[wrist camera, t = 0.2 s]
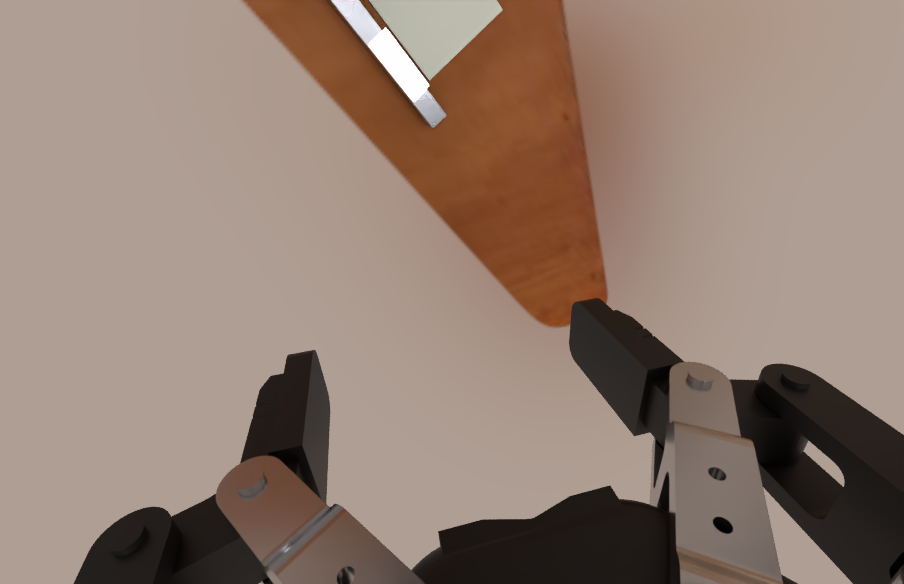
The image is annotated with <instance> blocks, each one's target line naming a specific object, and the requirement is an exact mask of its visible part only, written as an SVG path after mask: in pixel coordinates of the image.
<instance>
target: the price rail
mask: <svg viewBox="0 0 904 584" xmlns="http://www.w3.org/2000/svg"><path fill="white" fill-rule="evenodd" d="M327 1H328V2H329V3H330V4H331V6H332V7H333V8H334V9H335V11H336V12H337V13H338V14H339V16H340V17H341V18H342V19H343V21H344V22H345V23H346V24H347V26H348V27H349V28H350V29H351V31H352V32H353V33H354V34H355V35H356V37H357V38H358V39H359V40H360V42H361V43H362V44H363V45H364V47H365V48H366V49H367V50H368V52H369V53H370V54H371V55H372V57H373V58H374V59H375V60H376V62H377V63H378V64H379V65H380V67H381V68H382V69H383V70H384V72H385V73H386V74H387V75H388V77H389V78H390V79H391V80H392V82H393V83H394V84H395V85H396V87H397V88H398V89H399V90H400V92H401V93H402V94H403V95H404V97H405V98H406V99H407V100H408V102H409V103H410V104H411V105H412V107H413V108H414V109H415V110H416V112H417V113H418V114H419V115H420V117H421V118H422V119H423V120H424V122H425V123H426V124H427V125H429V126H430V127H432V128H434V127H435V126H436V125H437V124H438V123H439V122H440V121H441V120H442V119H443V118H444V117H446V116H447V115H446V114H445V112H444V111H443V110H442V108H441V107H440V106H439V105H438V103H437V102H436V101H435V99H434V98H433V97H432V95H431V94H430V93H429V91H428V90H427V88H428V87H429V86H430V85H429V84H428V83H427V81H426V80H425V79H424V77H423V76H422V75H421V73H420V72H419V71H418V69H417V68H416V67H415V65H414V64H413V63H412V61H411V60H410V59H409V57H408V56H407V55H406V53H405V52H404V51H403V50H402V48H401V47H400V46H399V44H398V43H397V42H396V40H395V39H394V38H393V36H392V35H391V34H390V32H389V31H388V30H387V28H385V29H384V30H383V31H382V30H381V29H380V27H379V26H378V25H377V23H376V22H375V21H374V19H373V18H372V17H371V16H370V14H369V13H368V12H367V10H366V9H365V8H364V6H363V5H362V4H361V2H360V1H359V0H327Z"/></svg>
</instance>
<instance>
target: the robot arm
mask: <svg viewBox="0 0 904 584" xmlns="http://www.w3.org/2000/svg"><path fill="white" fill-rule="evenodd" d="M569 345H570V351H571V355H572V357H573V359H574V361H575V362H576V363H577V365H578V366H579V367H580V368H581V370H582V371H583V372H584V373H585V375H586V376H587V377H588V378H589V380H590V381H591V382H592V383H593V385H594V386H595V387H596V388H597V390H598V391H599V392H600V393H601V395H602V396H603V397H604V399H605V400H606V401H607V402H608V404H609V405H610V406H611V407H612V409H613V410H614V411H615V412H616V414H617V415H618V416H619V417H620V419H621V420H622V421H623V423H624V424H625V425H626V426H627V427H628V429H629V430H630V431H631V432H632V434H633V435H634V436H637V435H641V434H645V433H649V432H650V433H651V434H652V435H653V436H654V441H653V446H652V467H651V490H650V504H646V503H642V502H638V501H632V500H624V499H618V497H617V496H616V494H615V492H614V491H613V489H612V488H611V486H607V487H603V488H599V489H596V490H592V491H588V492H584V493H581V494H577V495H573V496H570V497H568V498H567V499H565V500H563V501H561V502H560V503H558V504H556V505H555V506H553V507H551V508H550V509H548V510H547V511H545V512H543V513H542V514H540V515H538V516H537V517H535V518H532V519H499V520H498V519H497V520H480V521H476V522H472V523H468V524H465V525H461V526H457V527H453V528H450V529H446V530H442V531H439V532H438V533H439V540H440V547H439V548H437V549H436V550H434V551H432V552H431V553H430V554H428V555H427V556H426V557H425V558H423V559H422V560H421V561H420V562H419V563H418V564H417V565H416V566H415V567H414V568H413V569H412V570H410V569H409V568H408V567H407V566H406V565H405V564H404V563H403V562H401V561H400V560H399V559H398V558H397V557H396V556H395V555H394V554H393V553H392V552H391V551H390V550H389V549H387V548H386V547H385V546H384V545H383V544H382V543H381V542H380V541H379V540H378V539H377V538H376V537H375V536H373V535H372V534H371V533H370V532H369V531H368V530H367V529H366V528H365V527H363V525H362V524H360V523H359V522H358V521H357V520H356V519H355V518H354V517H353V516H352V515H351V514H350V513H349V512H348V511H347V510H345V509H344V508H343V507H342V506H340V505H338V504H334V505H333V506H332V507H329V506H328V505H327V504H326V494H327V471H328V449H329V425H330V424H329V423H330V403H329V396H328V391H327V387H326V384H325V380H324V377H323V373H322V370H321V366H320V363H319V359H318V356H317V353H316V351H315V350H312V351H306V352H302V353H296V354H290V355H288V356H287V359H286V364H285V369H284V374H279V375H274V376H270V378H269V379H268V380H267V382H266V383H265V384H264V385H263V386H262V388H261V389H260V391H259V395H258V398H257V402H256V407H255V410H254V414H253V419H252V421H251V425H250V428H249V433H248V436H247V440H246V443H245V447H244V451H243V455H242V459H241V462H240V464H239V465H237V466H236V467H234V468H233V469H232V470H231V471H230V472H229V473H228V474H227V475H226V476H225V477H224V478H223V479H222V481H221V483H220V484H219V486H218V488H217V492H216V494H215V495H213V496H212V497H210V498H208V499H206V500H205V501H203V502H201V503H199V504H197V505H194V506H192V507H190V508H188V509H186V510H184V511H182V512H180V513H178V514H176V515H174V516H172V517H171V516H170V514H169V513H168V511H166V510H165V509H163V508H160V507H148V508H143V509H140V510H137V511H134V512H132V513H130V514H128V515H126V516H124V517H123V518H121V519H119V520H118V521H117V522H115V523H114V524H113V525H111V526H110V527H109V528H108V529H107V530H105V532H104V533H102V534H101V535H100V537H99V538H98V539H97V540H96V541H95V543H94V544H93V546H92V547H91V549H90V551H89V553H88V554H87V557H86V559H85V561H84V563H83V565H82V567H81V569H80V571H79V573H78V576H77V578H76V580H75V582H74V584H258V583H260V582H261V583H262V584H797V583H795V582H794V581H792V580H790V579H788V578H787V577H785V576H783V575H781V572H780V567H779V562H778V557H777V553H776V548H775V543H774V538H773V534H772V529H771V524H770V519H769V515H768V510H767V505H766V500H765V495H764V491H763V487H764V488H765V489H766V490H767V492H769V494H770V495H771V496H772V497H773V498H774V499H775V500H776V501H777V502H778V503H779V504H780V506H781V507H782V508H783V509H784V510H785V511H786V512H787V513H788V514H789V515H790V516H791V517H792V518H793V519H794V520H795V521H796V523H797V524H798V525H799V526H800V527H801V528H802V529H803V530H804V531H805V532H806V533H807V534H808V536H810V538H811V539H812V540H813V541H814V542H815V543H816V544H817V545H818V546H819V547H820V549H821V550H822V551H823V552H824V553H825V554H826V555H827V556H828V557H829V558H830V559H831V560H832V561H833V562H834V563H835V565H836V566H837V567H838V568H839V569H840V570H841V571H842V572H843V573H844V574H845V575H846V576H847V578H848V579H849V580H850V581H851V582H852V583H853V584H904V435H903V434H901V433H900V432H898V431H897V430H895V429H894V428H893V427H891V426H890V425H888V424H887V423H885V422H884V421H882V420H881V419H879V418H878V417H877V416H875V415H874V414H872V413H871V412H869V411H868V410H867V409H865V408H863V407H862V406H861V405H859V404H858V403H857V402H855V401H854V400H852V399H851V398H849V397H848V396H846V395H845V394H844V393H842V392H840V391H839V390H838V389H836V388H835V387H833V386H832V385H831V384H829V383H827V382H826V381H825V380H823V379H822V378H820V377H819V376H817V375H816V374H814V373H812V372H810V371H808V370H805V369H803V368H800V367H796V366H793V365H787V364H771V365H767V366H765V367H764V368H763V369H762V371H761V374H760V376H759V379H758V380H729V379H728V378H727V377H726V376H725V375H724V374H723V373H722V372H720V371H719V370H717V369H715V368H713V367H711V366H708V365H705V364H701V363H696V362H684V361H683V360H682V359H680V358H679V357H678V356H677V355H676V354H674V353H673V352H672V351H671V350H670V349H669V348H668V347H666V346H665V345H664V344H663V343H662V342H660V341H659V340H658V339H657V338H656V337H655V336H654V337H653V336H652V334H651V333H650V332H649V331H648V330H647V329H643V326H642V325H641V324H640V323H638V322H637V321H636V320H635V319H634V318H632V317H631V316H628V315H626V314H624V313H622V312H620V311H617V310H615V311H613V310H612V309H611V308H610V307H609V306H608V305H606V304H605V303H604V302H603V301H602V300H601V299H599V298H595V299H589V300H584V301H579V302H575V303H574V304H573V306H572V313H571V326H570V339H569ZM808 440H809V441H810V442H811V443H812V444H814V445H815V446H816V447H817V448H818V449H819V450H821V451H822V452H823V453H824V454H825V455H826V456H828V457H829V458H830V459H831V460H832V461H833V462H834V463H836V465H837V466H838V467H839V468H840V470H841V471H842V473H843V475H844V479H845V485H844V487H842V485H840V484H839V483H838V482H837V481H836V480H835V479H833V478H832V477H831V476H830V475H829V474H828V473H827V472H826V471H825V470H823V469H822V468H821V467H820V466H819V465H818V464H817V463H816V462H815V461H813V460H812V459H811V458H810V457H809V456H808V455H807V454H806V453H805V452H803V450H804V448H805V446H806V444H807V442H808Z"/></svg>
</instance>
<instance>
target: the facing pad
mask: <svg viewBox="0 0 904 584" xmlns="http://www.w3.org/2000/svg"><path fill="white" fill-rule="evenodd" d="M369 2H370V3H371V4H372V6H373V7H374V8H375V10H376V11H377V12H378V14H379V15H380V16H381V18H382V19H383V20H384V22H385V23H386V24H387V26H388V27H389V28H390V30H391V31H392V32H393V34H394V35H395V36H396V38H397V39H398V40H399V42H400V43H401V44H402V46H403V47H404V48H405V50H406V51H407V52H408V54H409V55H410V56H411V58H412V59H413V60H414V62H415V63H416V64H417V66H418V67H419V68H420V70H421V71H422V72H423V74H424V75H425V76H426V77H427V79H428V80H429V81H430V80H431V79H432V78H433V77H434V76H435V75H436V74H437V73H438V72H439V71H440V70H441V69H442V68H443V67H444V66H445V65H446V64H447V63H448V62H449V61H450V60H451V59H452V58H454V57H455V56H456V55H457V54H458V53H459V52H460V51H461V50H462V49H463V48H464V47H465V46H466V45H467V44H468V43H469V42H470V41H471V40H472V39H473V38H474V37H475V36H476V35H477V34H478V33H479V32H480V31H481V30H483V29H484V28H485V27H486V26H487V25H488V24H489V23H490V22H491V21H492V20H493V19H494V18H495V17H496V16H497V15H498V14H499V13H500V12H501V11H502V8H501V6H500V5H499V3H498V1H497V0H369Z"/></svg>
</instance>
